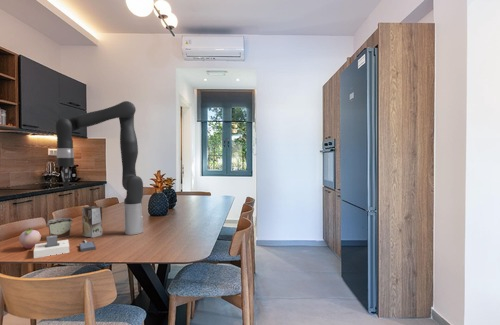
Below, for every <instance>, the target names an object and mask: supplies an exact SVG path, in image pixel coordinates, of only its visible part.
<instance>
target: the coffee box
mask: <svg viewBox="0 0 500 325" xmlns="http://www.w3.org/2000/svg"><path fill="white" fill-rule="evenodd" d="M81 210H82V211H81V213H82V215H81V216H82V220H81V221H82V237H87V238H92V239H93V238H97V237H101V236H103V207H102V206H96V205H95V206H94V205H90V206H84V207H82V208H81Z"/></svg>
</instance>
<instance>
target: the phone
mask: <svg viewBox="0 0 500 325" xmlns="http://www.w3.org/2000/svg"><path fill="white" fill-rule="evenodd" d="M83 241H84V242H79V244H78V245H79V249H80V252H82V253H84V252H87V251H88V252H89V251H93V250H96V248H97V246H96V245H95V242H94V241H87V239H84V240H83Z"/></svg>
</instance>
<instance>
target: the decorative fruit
mask: <svg viewBox="0 0 500 325" xmlns="http://www.w3.org/2000/svg"><path fill="white" fill-rule="evenodd" d="M41 238H42V235H41V233H40V232H39V230H35V229H32V228H31V229H30V227H28V229H26V230H24V231H22V233H20V235H19V237H18V240H19V244H20V245H21V246H22V247H24V248H26V249H31V248H33V247H35V244H40V241H41Z"/></svg>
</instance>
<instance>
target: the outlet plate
mask: <svg viewBox="0 0 500 325" xmlns="http://www.w3.org/2000/svg"><path fill="white" fill-rule="evenodd" d="M62 253H63V254H68V253H70V241H69V239H63V240H57V246H53V247H47V242H42V243H37V244H35V246H34V249H33V259H38V258H39V259H40V258H43V257H49V256H50V255H51V256H57V255H63V254H62ZM56 254H57V255H56Z"/></svg>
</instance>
